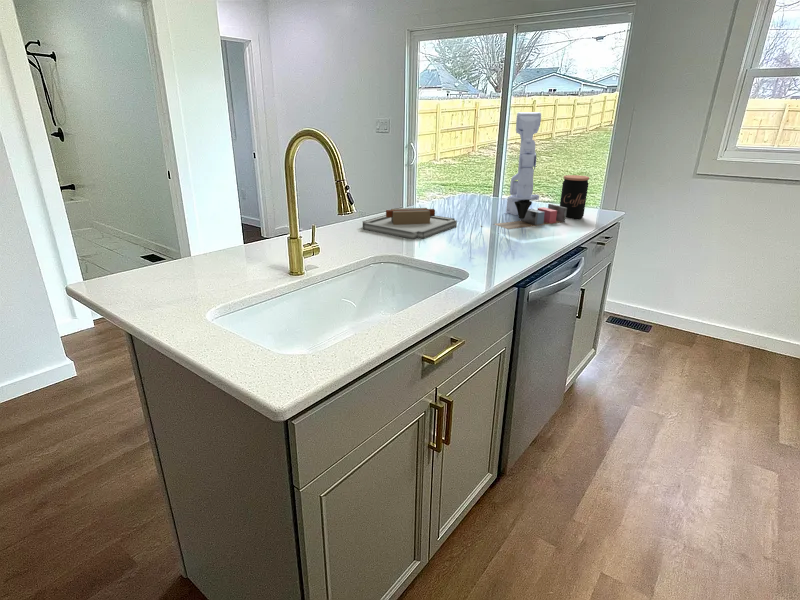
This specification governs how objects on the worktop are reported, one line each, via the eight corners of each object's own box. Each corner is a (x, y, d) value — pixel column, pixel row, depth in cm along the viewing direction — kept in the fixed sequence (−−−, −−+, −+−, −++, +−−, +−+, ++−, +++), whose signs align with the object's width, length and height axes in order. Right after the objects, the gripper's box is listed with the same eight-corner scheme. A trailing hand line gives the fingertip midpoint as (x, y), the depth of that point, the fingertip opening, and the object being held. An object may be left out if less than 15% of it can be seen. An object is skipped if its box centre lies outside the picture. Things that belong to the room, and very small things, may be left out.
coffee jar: (558, 219, 207) (563, 177, 200) (558, 214, 216) (563, 174, 209) (583, 220, 204) (590, 178, 197) (582, 215, 213) (588, 175, 206)
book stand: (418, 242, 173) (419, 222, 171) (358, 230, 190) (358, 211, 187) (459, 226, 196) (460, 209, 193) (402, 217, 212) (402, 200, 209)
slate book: (523, 220, 199) (525, 209, 197) (530, 220, 200) (531, 208, 198) (536, 224, 192) (538, 212, 190) (543, 224, 194) (544, 212, 192)
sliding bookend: (520, 220, 199) (521, 208, 197) (522, 220, 199) (523, 208, 197) (534, 225, 191) (536, 212, 189) (536, 224, 191) (538, 212, 189)
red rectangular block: (536, 219, 202) (537, 207, 200) (542, 218, 203) (544, 207, 201) (549, 223, 195) (550, 211, 193) (555, 222, 196) (557, 210, 194)
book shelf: (493, 226, 194) (494, 209, 191) (548, 219, 206) (550, 203, 203) (508, 231, 186) (509, 214, 183) (565, 224, 198) (567, 207, 195)
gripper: (516, 187, 181) (513, 222, 186) (545, 185, 187) (541, 218, 192) (505, 185, 187) (502, 218, 192) (533, 182, 193) (530, 215, 198)
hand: (521, 218), depth 193 cm, fingers closed
